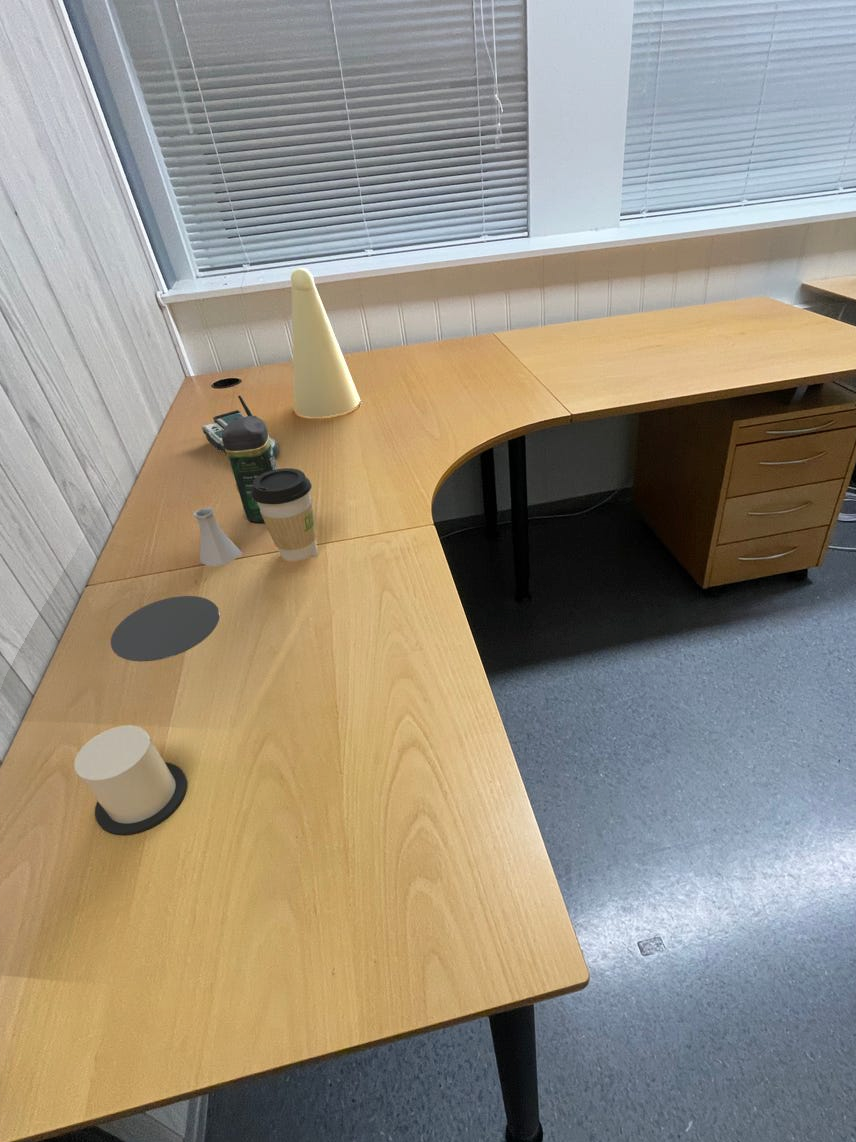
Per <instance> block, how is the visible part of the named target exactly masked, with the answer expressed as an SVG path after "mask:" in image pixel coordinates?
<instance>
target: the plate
mask: <svg viewBox="0 0 856 1142" xmlns="http://www.w3.org/2000/svg"><path fill="white" fill-rule="evenodd" d="M220 612H221V611H220V609H219V607H218V606H217V604H216V603H215V602H214V601H212V600H210V599H208V598H206V597H202V596H198V595H197V596H196V595H180V596H178V595H177V596H172V597H168V598H163V599H160V600H156V601H153V602H151V603H148V604H146V605H144V606H142V607H139V608H138V609H136V610H135V611H133V612H132V613H130V614H129V615H128V616H126V617H125V618H124V619H123V620H121V622H120V623H119V624H118V625H117V626H116V627H115V629H114V631H113V632H112V634H111V636H110V647H111V649H112V651H113V653H114V654H116V655H117V656H118V657H120V658H122V659H124V660H128V661H132V662H153V661H159V660H164V659H168V658H171V657H172V658H173V657H175V656H177V655H180V654H183V653H185V652H186V651H188V650H191V649H192V648H194V647H196V646H198V645H199V644H200V643H201V642H203V641H205V639H207V638H208V637H209V636H210V635H211V634H212V633H213V632H214V630H215V629H216V627H217V626H218V624H219V622H220V616H221V614H220Z"/></svg>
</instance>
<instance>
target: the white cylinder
mask: <svg viewBox="0 0 856 1142" xmlns="http://www.w3.org/2000/svg"><path fill="white" fill-rule="evenodd" d="M165 762H166V761H165V760H164V758H163V756H162V755H161V754H160V752H159V750H158V748H157V746H156V745H155V743H154V742H153V739H152V738H151V736H150V735H149V733H148V732H147V730H145V729H144V728H142V727H140V726H138V725H137V726H136V725H131V724H130V725H128V724H127V725H120V726H115V727H111V728H109V729H106V730H104V731H102V732H100V733H98V734H96V735H95V736H94V737H92V738H90V739H89V740H88V741H87V742H86V743H85V744H84V745H83V746H82V747H81V748H80V749H79V750H78V752H77V754H76V756H75V759H74V763H73V769H74V771H75V773H76V775H77V776H78V778H80V780H81V781H82V782H83V784H84V785H85V787H86V788H87V789H88V791H89V792H90V793H91V795H92V796H93V798H95V800H96V802H97V801H98V802H99V804H100V805H101V806H102V808H103V809H104V810H105V812H106V813H107V814H108V816H109V817H110V818H111V819H112V820H114V821H116V822H119V823H124V824H129V823H136V822H140V821H143V820H145V819H148V818H150V817H152V816H153V815H155V814H156V813H158V812H159V811H160V810H162V809H163V808H164V807H165V806H166V805H167V804H168V802H169V801H170V800H171V798H172V796H173V794H174V791H175V787H176V783H175V779H174V777H173V775H172V774H171V772H170V770H169V769H168V767H167V765H166V764H165Z"/></svg>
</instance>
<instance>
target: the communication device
mask: <svg viewBox="0 0 856 1142" xmlns="http://www.w3.org/2000/svg"><path fill="white" fill-rule="evenodd" d="M237 398H238V400H239V401H240V403H241V406H242V407H243V409H244V412H245V414H246V415H245V414H244V413H243V412H241V411H240V409H236V410H233V411H229V412H225V413H222V414H218V415H215V416H213V418H212V419H213V422H212V423H209V424H206V425H202V426H201V429H202V433H203V434H204V435H205V438H206V440H207V441H208V442H209V443H210V444H211V445H212V446H213V447H214V448H215V449H216V450H217V451H219V452H226V451H225V448H224V445H223V441H222V433H223V431H224V429H225V427H226V426H227V425H228V424H229V423H230V422H231V421H232V420H234V418H235V417H243V416H253V413H252V412H251V410H250V409H249V407H248V405H247V403H246V402H245V400H244V399H243V397H242V396H241V395H238V396H237ZM269 438H270V442H271V447H272V450H273V455H274V458H275V459H277V457H278V455H279V454H280V451H279V446H278V445H279V443H278V441H277V440H276V439H274V438H273V437H271V436H269ZM220 450H221V451H220ZM223 450H224V451H223Z"/></svg>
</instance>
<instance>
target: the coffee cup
mask: <svg viewBox="0 0 856 1142" xmlns="http://www.w3.org/2000/svg"><path fill="white" fill-rule="evenodd" d="M311 490H312V482H311V480H310V479H309V478H308V477H307V476H306V474H305V473H304V471H302V470H300V469H297V468H292V467H290V468H289V467H288V468H287V467H286V468H284V467H283V468H277V469H276V470H271V471H268V472H265V473H263V474H261V475H259V476H258V477H257V478H255V480H254V481H253V488H252V491H251V493H252V498H253V499H254V500H255V501H256V502H257V503H258V506H259V508H260V513H261V515H262V517H263V519H264V522H263V523H264V524H265V526H266V529H267V530H268V533H269V535H270V538H271V539H272V541H273V544H274V546H275V547H276V548H277V551H278V553H279V555H280V557H281V559H283V560H285V561H288V562H300V561H304V560H307V559H309V558H310V559H311V558H313V559H314V558H315V557H316V556H317V557H318V554H317V553H318V547H317V539H316V538H317V532H316V522H315V515H314V506H313V500H312V498H311V497H312V496H311ZM317 557H316V558H317ZM316 558H315V559H316Z"/></svg>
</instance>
